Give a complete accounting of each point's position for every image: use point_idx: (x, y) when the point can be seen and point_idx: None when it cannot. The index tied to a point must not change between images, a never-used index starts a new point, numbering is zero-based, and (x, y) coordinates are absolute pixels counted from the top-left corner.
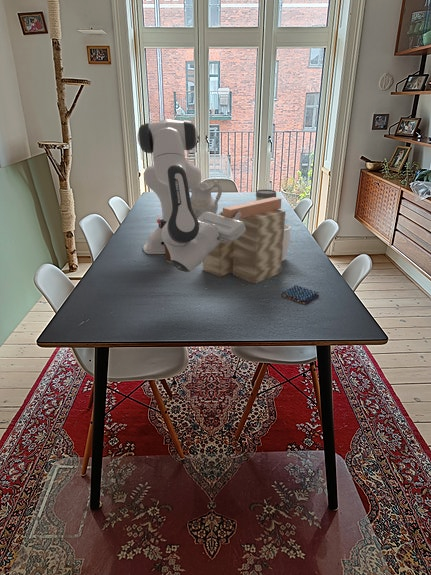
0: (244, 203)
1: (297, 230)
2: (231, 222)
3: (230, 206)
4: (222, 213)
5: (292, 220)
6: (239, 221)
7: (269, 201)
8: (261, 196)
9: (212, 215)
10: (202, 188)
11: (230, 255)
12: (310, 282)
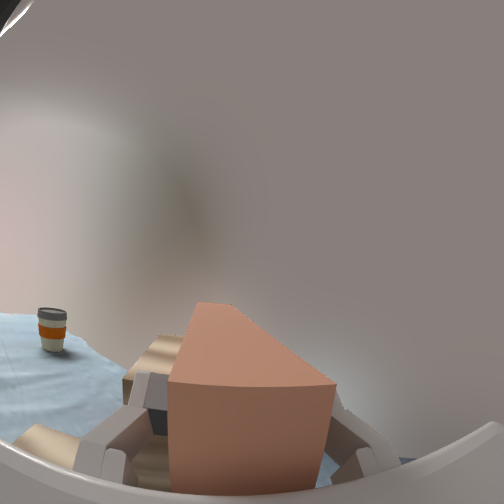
0: (194, 320)
1: (121, 373)
2: (459, 491)
3: (188, 347)
4: (128, 437)
5: (96, 355)
6: (487, 432)
7: (237, 310)
8: (47, 317)
9: (34, 498)
10: None
11: None
12: (331, 484)
